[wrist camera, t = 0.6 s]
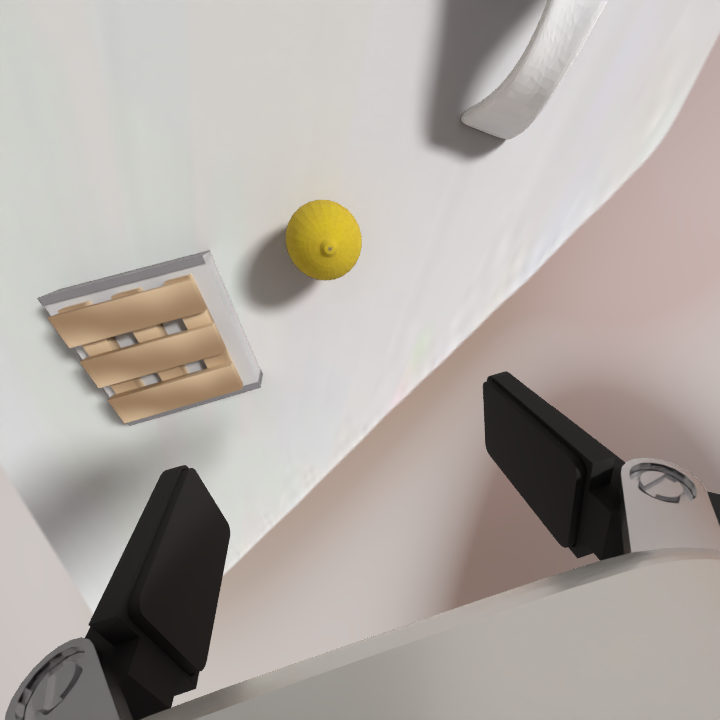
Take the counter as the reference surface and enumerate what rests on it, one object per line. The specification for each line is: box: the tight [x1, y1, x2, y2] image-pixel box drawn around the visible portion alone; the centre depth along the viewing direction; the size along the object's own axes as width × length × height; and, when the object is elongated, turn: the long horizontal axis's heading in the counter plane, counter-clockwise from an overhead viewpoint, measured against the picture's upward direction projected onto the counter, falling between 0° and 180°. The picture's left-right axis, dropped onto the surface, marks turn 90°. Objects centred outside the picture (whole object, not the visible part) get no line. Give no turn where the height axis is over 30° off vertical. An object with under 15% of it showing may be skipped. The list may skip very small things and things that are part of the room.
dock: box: [37, 250, 263, 426], centre depth 28 cm, size 12×12×3 cm
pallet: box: [48, 273, 243, 423], centre depth 26 cm, size 10×10×2 cm
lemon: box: [286, 200, 362, 280], centre depth 24 cm, size 6×6×8 cm
